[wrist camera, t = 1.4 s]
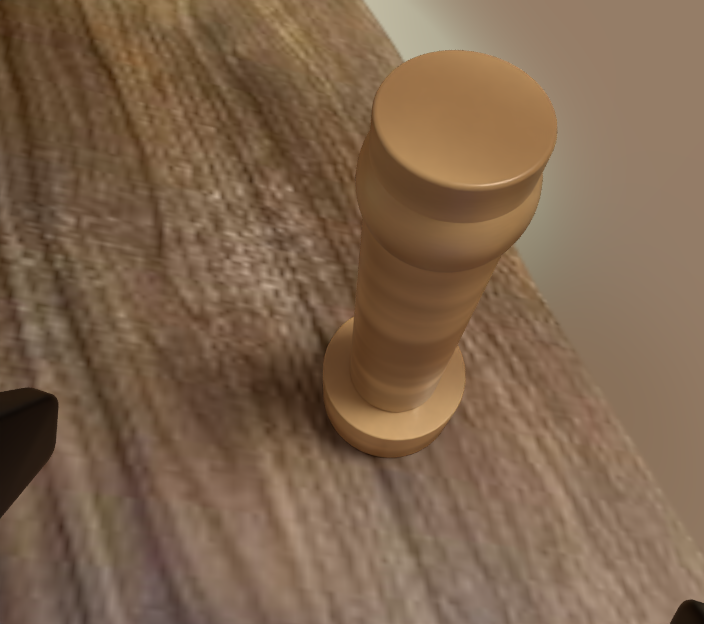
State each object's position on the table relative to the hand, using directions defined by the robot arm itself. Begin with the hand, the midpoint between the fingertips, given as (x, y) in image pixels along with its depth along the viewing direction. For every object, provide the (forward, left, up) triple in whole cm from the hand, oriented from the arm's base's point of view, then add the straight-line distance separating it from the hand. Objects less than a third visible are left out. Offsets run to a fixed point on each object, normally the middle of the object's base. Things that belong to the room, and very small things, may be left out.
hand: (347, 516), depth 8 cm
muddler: (+6, -2, -12) cm, 14 cm away
